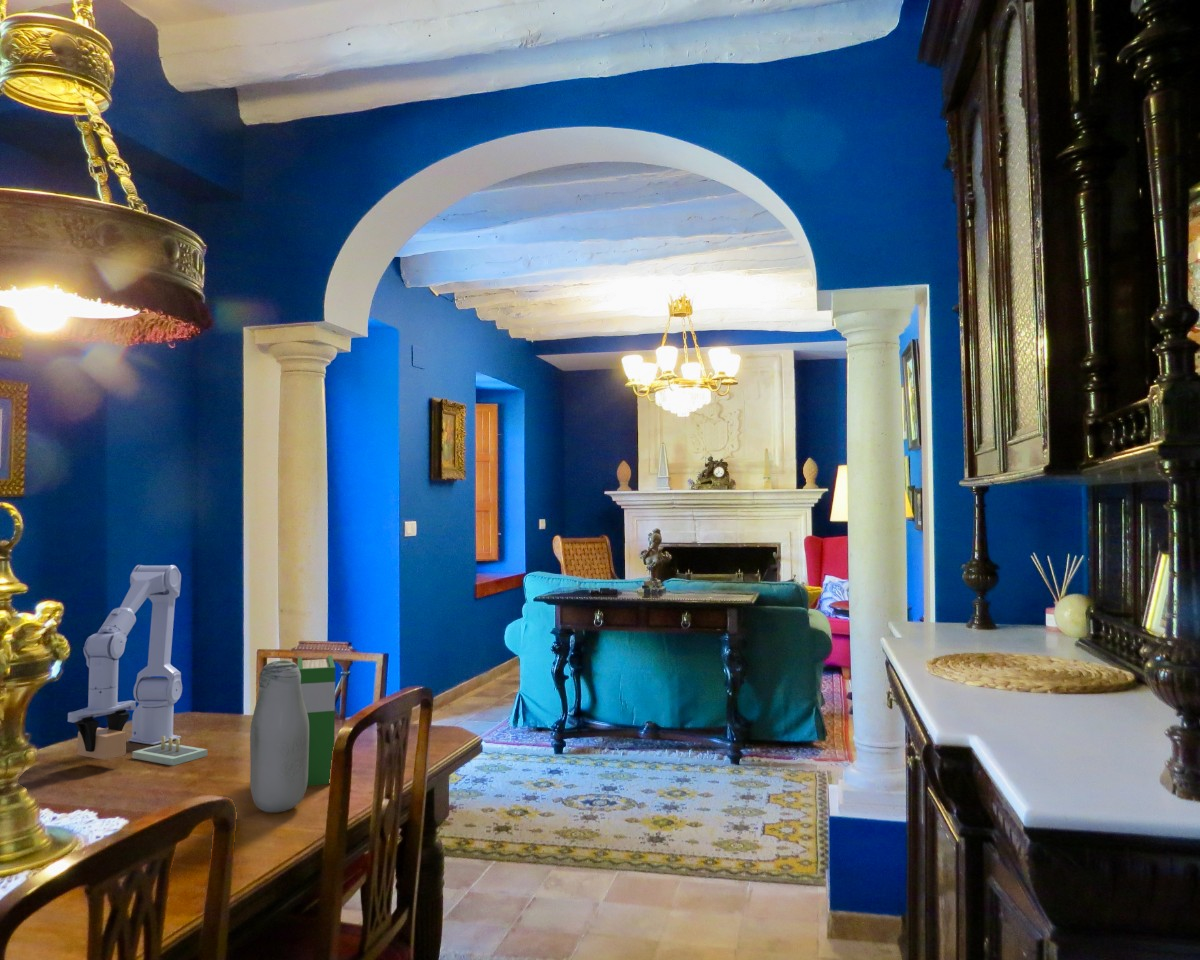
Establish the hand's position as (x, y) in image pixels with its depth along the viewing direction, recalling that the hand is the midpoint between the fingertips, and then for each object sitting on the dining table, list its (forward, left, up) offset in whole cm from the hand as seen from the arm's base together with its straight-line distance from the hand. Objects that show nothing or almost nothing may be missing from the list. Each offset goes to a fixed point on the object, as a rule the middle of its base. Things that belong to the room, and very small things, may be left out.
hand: (101, 748), depth 191 cm
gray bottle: (+59, -4, -4) cm, 59 cm away
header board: (+7, +12, -4) cm, 14 cm away
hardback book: (+47, +17, -4) cm, 50 cm away
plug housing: (0, 0, -1) cm, 1 cm away
